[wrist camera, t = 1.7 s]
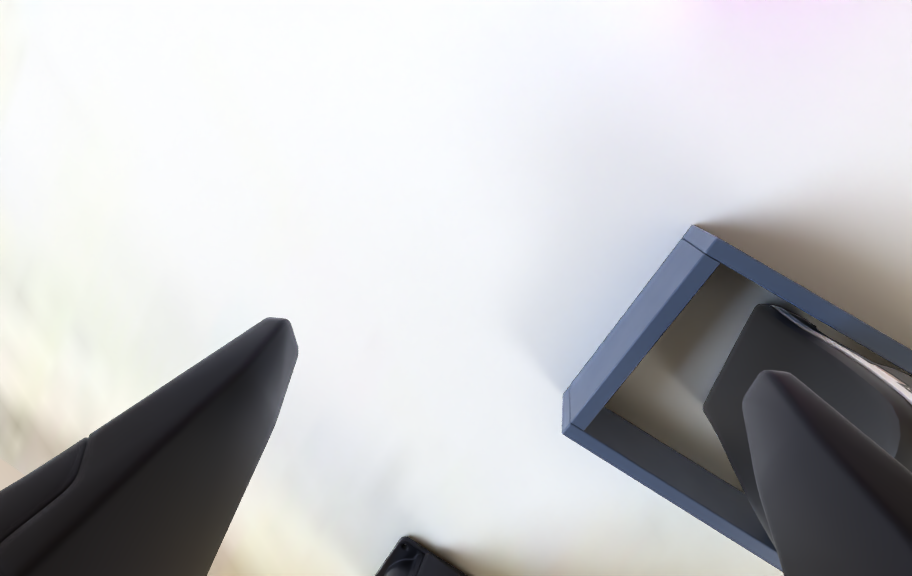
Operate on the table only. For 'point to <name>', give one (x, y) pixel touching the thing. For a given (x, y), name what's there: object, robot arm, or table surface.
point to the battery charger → (823, 371)
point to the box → (636, 338)
